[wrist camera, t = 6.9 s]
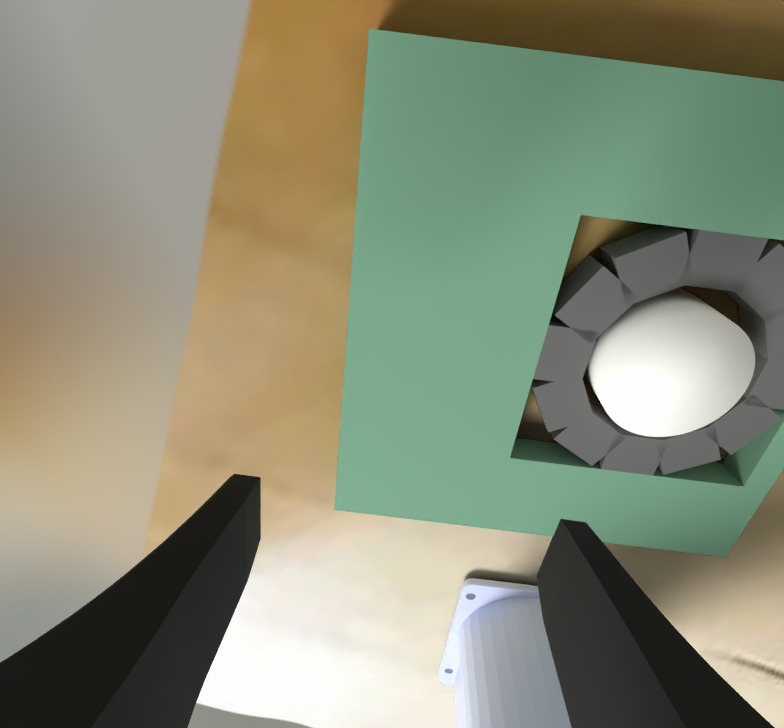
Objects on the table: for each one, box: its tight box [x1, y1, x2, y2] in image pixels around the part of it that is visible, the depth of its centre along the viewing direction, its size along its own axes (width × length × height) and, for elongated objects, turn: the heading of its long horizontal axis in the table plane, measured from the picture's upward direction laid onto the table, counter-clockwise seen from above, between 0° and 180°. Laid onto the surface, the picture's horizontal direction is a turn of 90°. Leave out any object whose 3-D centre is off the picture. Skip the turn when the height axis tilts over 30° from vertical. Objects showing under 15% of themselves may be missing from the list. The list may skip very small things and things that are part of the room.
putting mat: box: [334, 29, 784, 557], centre depth 18 cm, size 18×18×2 cm
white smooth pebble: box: [584, 288, 755, 437], centre depth 17 cm, size 5×5×2 cm
